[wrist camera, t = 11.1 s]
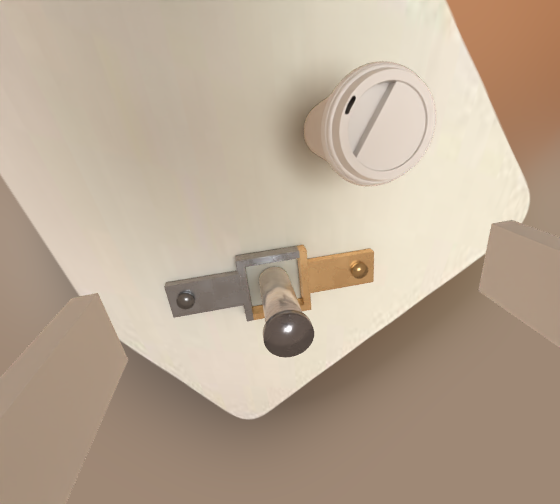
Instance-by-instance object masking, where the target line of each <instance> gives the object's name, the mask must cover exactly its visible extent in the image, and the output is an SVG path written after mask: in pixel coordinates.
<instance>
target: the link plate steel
mask: <svg viewBox="0 0 560 504" xmlns="http://www.w3.org/2000/svg"><path fill="white" fill-rule="evenodd" d="M296 258H300V253H299V250H298V248H297V246H293V247H286V248H280V249H274V250H268V251H262V252H256V253H249V254H243V255H237V256H236V265H237V271H233V272H227V273H221V274H215V275H209V276H203V277H197V278H191V279H185V280H179V281H173V282H167V283H166V284H165V286H164V287H165V290H166V294H167V297H168V300H169V304H170V307H171V310H172V314H173V317H180V316H185V315H191V314H196V313H202V312H208V311H213V310H219V309H224V308H230V307H236V306H241V305H244V308H245V313H246V319H247V321H251V320H254V318H253V312H252V304H251V299H250V293H249V287H248V282H247V276H246V270H245V267H248V266H254V265H260V264H266V263H272V262H278V261H284V260H290V259H296Z"/></svg>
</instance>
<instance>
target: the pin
mask: <svg viewBox="0 0 560 504" xmlns="http://www.w3.org/2000/svg"><path fill="white" fill-rule="evenodd" d="M259 286H260V292H261V298H262V304H263V310H264V316H265V322H266V324H265V325H264V328H263V338H264V344H265V346H266V348H267V349H268V350H269V351H270V352H271V353H272V354H274V355H276V356H279V357H292V356H296V355H299V354H301V353H302V352H304V351H305V350H306V349H307V348H308V347H309V346H310V345H311V343H312V341H313V338H314V329H313V326H312V324H311V321H310V320H309V318H308V317H307V316H306V315H305V314H304V313H302V311H301V308H300V305H299V303H298V300H297V297H296V295H295V292H294V290H293V287H292V284H291V282H290V279H289V276H288V274H287V272H286V271H285V270H284V269H282V268H280V267H269V268H267V269H265V270H264V271H263V272H262V273H261V275H260V277H259Z"/></svg>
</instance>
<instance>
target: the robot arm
mask: <svg viewBox="0 0 560 504" xmlns="http://www.w3.org/2000/svg"><path fill="white" fill-rule="evenodd" d="M479 292H480V293H482V294H483V295H485V296H486V297H488V298H489V299H491V300H492V301H493V302H495V303H496V304H498V305H499V306H501V307H502V308H503V309H505V310H506V311H508V312H509V313H511V314H512V315H514V316H515V317H516V318H518V319H519V320H521V321H522V322H524V323H525V324H526V325H528V326H529V327H531V328H532V329H534V330H535V331H536V332H538V333H539V334H541V335H543V336H544V337H545V338H547V339H548V340H549V341H551V342H552V343H554V344H555V345H557V346H558V347H559V348H560V237H558V236H555V235H552V234H549V233H547V232H544V231H541V230H538V229H535V228H533V227H530V226H527V225H524V224H522V223H519V222H516V221H513V220H510V221H504V222H498V223H493V224H492V225H491V230H490V235H489V240H488V245H487V250H486V255H485V260H484V265H483V270H482V275H481V281H480V286H479ZM127 361H128V358H127V356H126V354H125V352H124V350H123V347H122V345H121V343H120V341H119V338H118V336H117V334H116V332H115V330H114V328H113V325H112V323H111V321H110V319H109V317H108V314H107V312H106V310H105V308H104V306H103V304H102V301H101V299H100V297H99V295H98V293H96V294H90V295H85V296H79V297H74V298H71V299H70V300H69V302H68V303H67V304H66V305H65V306H64V307H63V308H62V309H61V310H60V311H59V313H58V314H57V315H56V316H55V317H54V318H53V319H52V320H51V322H50V323H49V324H48V325H47V326H46V327H45V328H44V329H43V330H42V331H41V333H40V334H39V335H38V336H37V337H36V338H35V339H34V341H33V342H32V343H31V344H30V345H29V346H28V347H27V348H26V349H25V350H24V351H23V353H22V354H21V355H20V356H19V357H18V358H17V359H16V360H15V362H14V363H13V364H12V365H11V366H10V367H9V368H8V369H7V371H5V373H4V374H3V375H2V376H1V377H0V504H66V502H67V500H68V498H69V495H70V493H71V491H72V488H73V486H74V484H75V481H76V479H77V476H78V475H79V472H80V470H81V468H82V465H83V463H84V461H85V458H86V456H87V454H88V451H89V449H90V447H91V444H92V442H93V440H94V438H95V435H96V433H97V430H98V428H99V426H100V424H101V421H102V419H103V417H104V415H105V412H106V410H107V407H108V405H109V403H110V401H111V398H112V396H113V394H114V391H115V389H116V387H117V384H118V382H119V380H120V377H121V375H122V373H123V371H124V368H125V366H126V364H127Z"/></svg>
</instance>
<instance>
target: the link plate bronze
mask: <svg viewBox="0 0 560 504" xmlns="http://www.w3.org/2000/svg"><path fill="white" fill-rule="evenodd" d="M297 248H298V250H299V253H300V258H297V259H298V269H299V279H300V290H301V298H298V299H297V300H298V303H299V305H300V308H301V311H306V310H311V299H310V293H314V292H319V291H325V290H331V289H336V288H342V287H347V286H353V285H358V284H364V283H370V282H373V273H374V251H373V250H371V249H364V250H358V251H352V252H346V253H340V254H334V255H328V256H322V257H316V258H310V259H307V250H306V248H305V247H304V245H299V246H297ZM252 312H253V318H254V320H257V319H262V318H265V316H264V310H263V305H259V306H254V307H252Z"/></svg>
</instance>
